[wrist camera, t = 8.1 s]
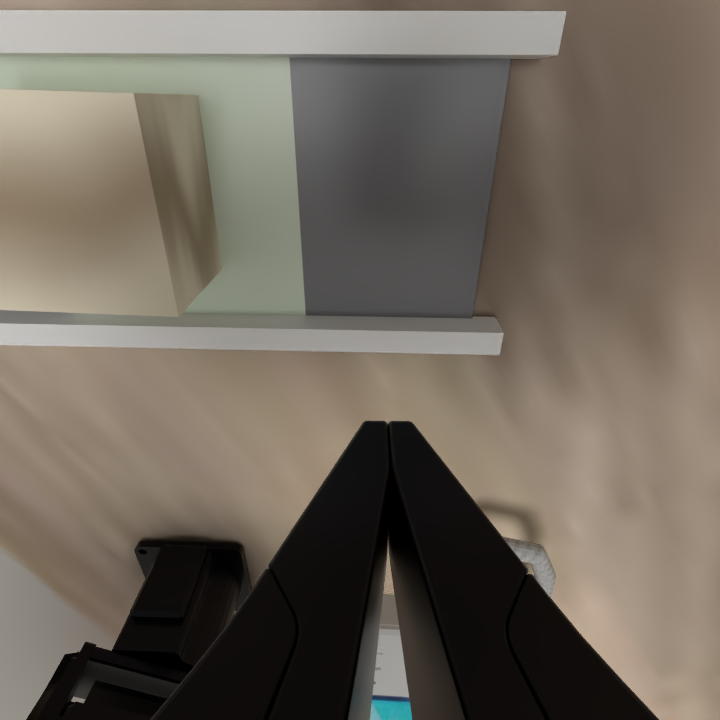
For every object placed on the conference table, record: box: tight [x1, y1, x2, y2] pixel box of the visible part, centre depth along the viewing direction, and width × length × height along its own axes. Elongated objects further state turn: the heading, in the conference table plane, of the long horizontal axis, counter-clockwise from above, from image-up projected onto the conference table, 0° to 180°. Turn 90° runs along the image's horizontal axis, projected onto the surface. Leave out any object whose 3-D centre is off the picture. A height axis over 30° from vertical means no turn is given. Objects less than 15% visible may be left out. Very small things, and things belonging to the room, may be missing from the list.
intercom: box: [370, 537, 556, 720], centre depth 29 cm, size 13×4×25 cm
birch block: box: [0, 89, 222, 317], centre depth 14 cm, size 6×6×4 cm
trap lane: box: [0, 10, 566, 355], centre depth 16 cm, size 11×26×2 cm, turn 90°
